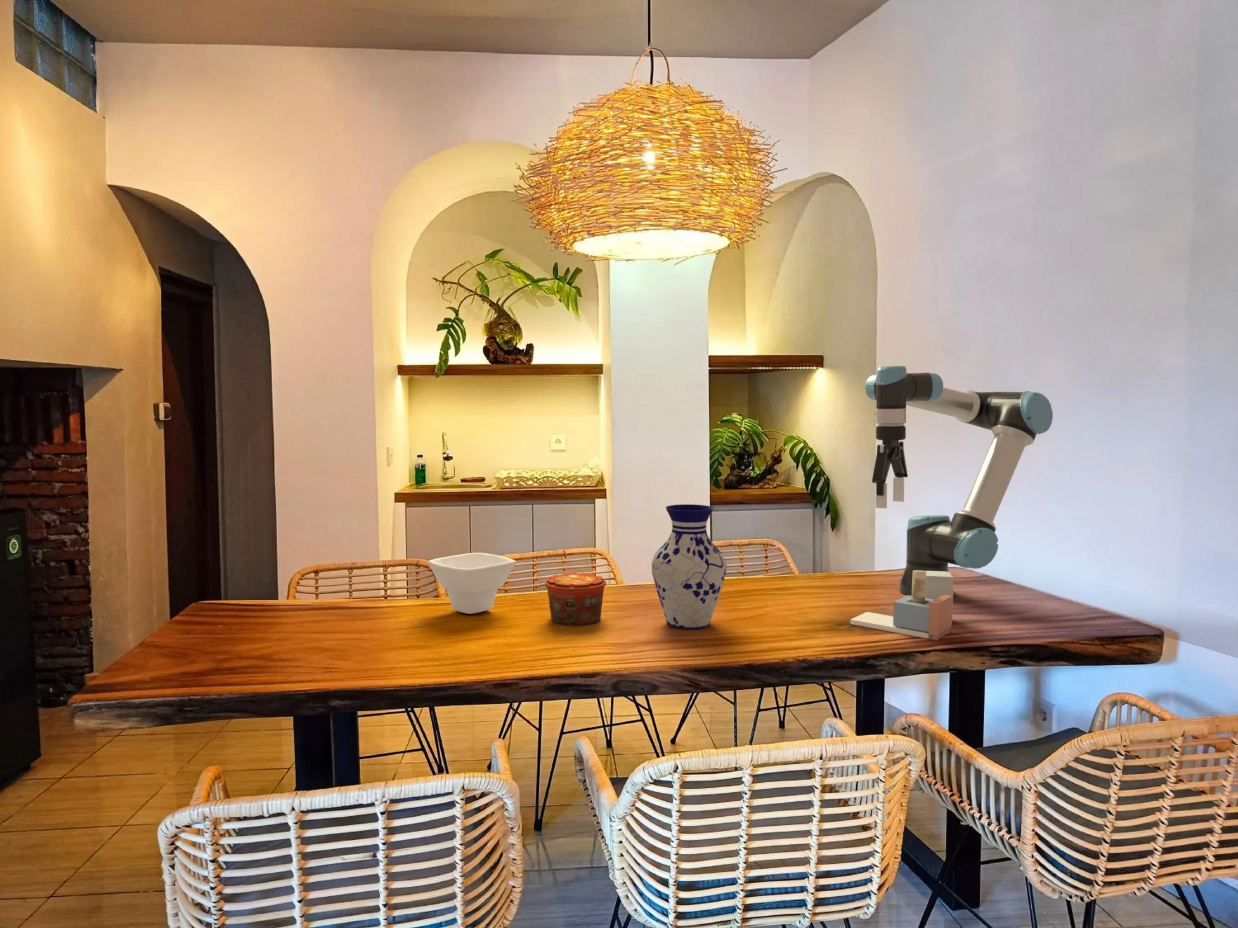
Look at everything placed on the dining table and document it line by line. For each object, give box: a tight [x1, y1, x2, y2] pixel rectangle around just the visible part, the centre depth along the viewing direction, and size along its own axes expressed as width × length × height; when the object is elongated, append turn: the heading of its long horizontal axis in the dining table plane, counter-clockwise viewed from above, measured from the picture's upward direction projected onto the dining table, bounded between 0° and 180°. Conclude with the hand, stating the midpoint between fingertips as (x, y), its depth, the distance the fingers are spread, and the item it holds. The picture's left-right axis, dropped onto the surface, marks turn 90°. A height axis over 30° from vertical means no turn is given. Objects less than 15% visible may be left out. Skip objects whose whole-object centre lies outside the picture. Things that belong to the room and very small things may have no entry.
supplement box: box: [925, 571, 955, 626], centre depth 223 cm, size 7×7×13 cm
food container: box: [544, 572, 607, 626], centre depth 223 cm, size 16×16×11 cm
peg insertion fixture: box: [850, 595, 953, 641], centre depth 216 cm, size 10×22×9 cm, turn 50°
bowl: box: [427, 552, 517, 615], centre depth 230 cm, size 19×19×14 cm
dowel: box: [912, 570, 926, 604], centre depth 213 cm, size 3×3×12 cm
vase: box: [651, 503, 727, 630], centre depth 218 cm, size 19×19×30 cm
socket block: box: [893, 594, 934, 632], centre depth 213 cm, size 9×9×6 cm
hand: (890, 504), depth 229 cm, fingers open, 13 cm apart
